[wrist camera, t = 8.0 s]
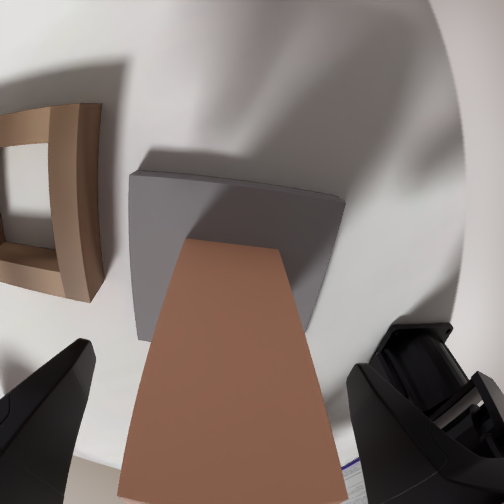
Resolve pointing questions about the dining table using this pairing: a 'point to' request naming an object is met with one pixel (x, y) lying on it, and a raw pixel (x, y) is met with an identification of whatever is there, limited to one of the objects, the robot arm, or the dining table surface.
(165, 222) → the rubber pad
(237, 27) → the dining table surface
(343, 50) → the dining table surface
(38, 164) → the dining table surface
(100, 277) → the walnut socket
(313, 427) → the terracotta peg
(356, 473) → the supplement box
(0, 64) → the dining table surface
